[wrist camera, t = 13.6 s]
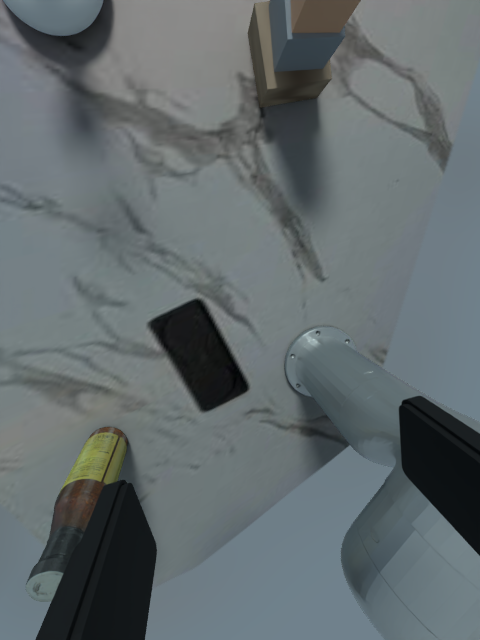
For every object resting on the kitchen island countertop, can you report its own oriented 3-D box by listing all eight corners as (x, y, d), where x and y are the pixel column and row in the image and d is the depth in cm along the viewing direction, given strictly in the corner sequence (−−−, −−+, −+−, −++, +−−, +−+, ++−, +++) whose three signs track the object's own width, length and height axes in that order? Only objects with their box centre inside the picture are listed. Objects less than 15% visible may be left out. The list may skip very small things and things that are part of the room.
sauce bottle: (80, 442, 43) (-13, 591, 24) (108, 417, 43) (37, 549, 24) (111, 465, 45) (48, 620, 26) (139, 441, 45) (95, 581, 26)
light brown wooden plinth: (307, 26, 34) (323, -7, 30) (316, 99, 37) (331, 78, 32) (247, 35, 34) (254, 3, 29) (259, 108, 36) (267, 89, 32)
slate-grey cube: (320, 4, 30) (343, -42, 25) (322, 68, 32) (345, 36, 27) (268, 6, 30) (282, -41, 25) (273, 71, 31) (287, 39, 26)
